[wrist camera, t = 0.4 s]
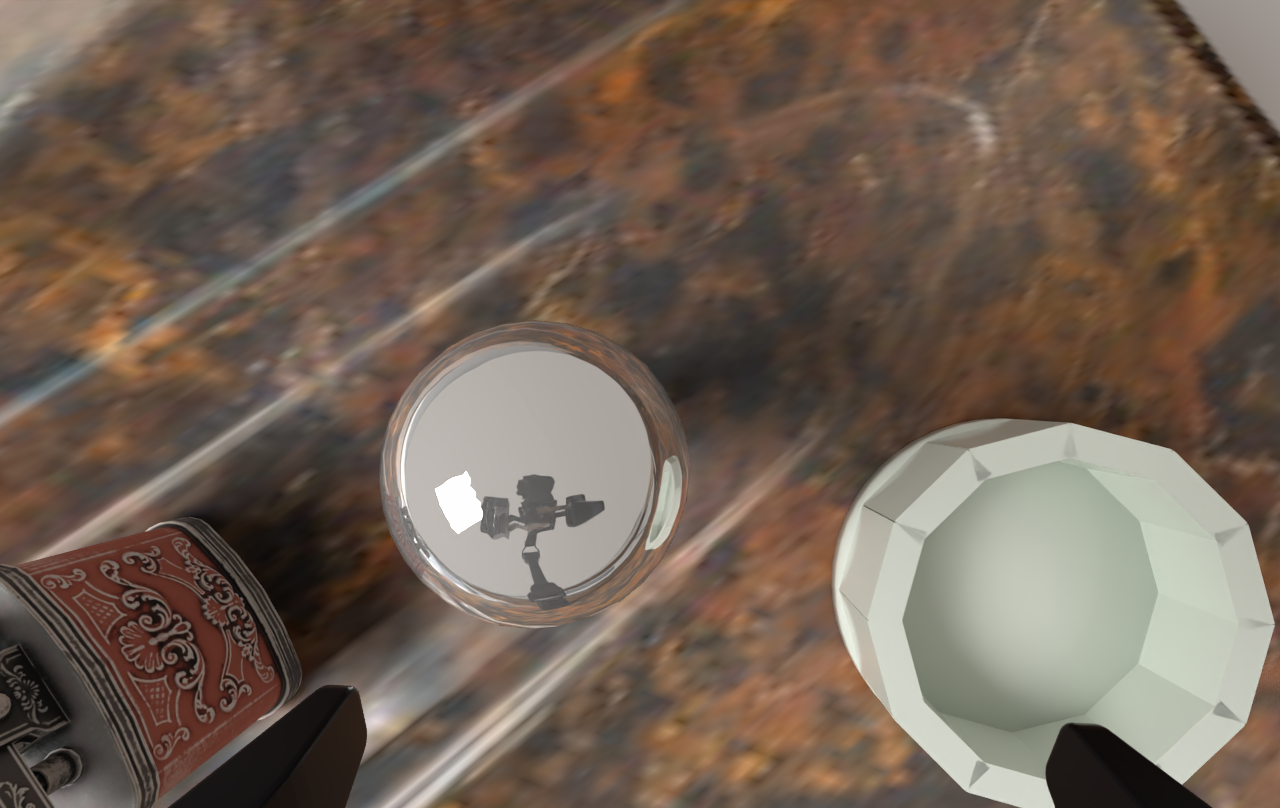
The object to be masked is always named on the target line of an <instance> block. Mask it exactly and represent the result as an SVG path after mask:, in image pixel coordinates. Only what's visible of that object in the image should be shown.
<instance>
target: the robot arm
mask: <svg viewBox="0 0 1280 808" xmlns="http://www.w3.org/2000/svg"><path fill="white" fill-rule="evenodd" d="M366 740H367V728H366V723H365V719H364V714H363V709H362V704H361V700H360V695H359V692H358V690H357V689H356V688H355V687H353V686H344V685H325V686H323V687H321V688H319V689H318V690H316V691H315V692H314V693H312V694H311V695H310V696H309V697H307V698H306V699H305V700H303V701H302V702H301V703H300V704H298V705H297V706H296V707H295V708H293V709H292V710H291V711H290V712H288V713H287V714H286V715H284V716H283V717H282V718H281V719H279V720H278V721H277V722H276V723H274V724H273V725H272V726H271V727H269V728H268V729H267V730H266V731H264V732H263V733H262V734H260V735H259V736H258V737H257V738H255V739H254V740H253V741H252V742H250V743H249V744H248V745H247V746H245V747H244V748H243V749H241V750H240V751H239V752H238V753H236V754H235V755H234V756H233V757H231V758H230V759H229V760H228V761H226V762H225V763H224V764H223V765H221V766H220V767H219V768H217V769H216V770H215V771H214V772H212V773H211V774H210V775H209V776H207V777H206V778H205V779H204V780H202V781H201V782H200V783H198V784H197V785H196V786H195V787H193V788H192V789H191V790H190V791H188V792H187V793H186V794H185V795H183V796H182V797H181V798H180V799H178V800H177V801H176V802H174V803H173V804H172V805H171V806H169V807H168V808H345V807H346V804H347V801H348V798H349V795H350V792H351V789H352V786H353V783H354V780H355V777H356V774H357V771H358V768H359V765H360V762H361V759H362V756H363V753H364V750H365V746H366ZM1045 776H1046V782H1047V786H1048V790H1049V792H1050V795H1051V798H1052V800H1053V803H1054V806H1055V808H1212V807H1211V806H1209V805H1208V804H1207V803H1205V802H1204V801H1203V800H1201V799H1200V798H1199V797H1197V796H1196V795H1195V794H1194V793H1192V792H1191V791H1190V790H1188V789H1187V788H1186V787H1184V786H1183V785H1182V784H1180V783H1179V782H1178V781H1176V780H1175V779H1174V778H1172V777H1171V776H1170V775H1168V774H1167V773H1166V772H1164V771H1163V770H1162V769H1160V768H1159V767H1158V766H1156V765H1155V764H1154V763H1152V762H1151V761H1150V760H1148V759H1147V758H1146V757H1145V756H1143V755H1142V754H1141V753H1139V752H1138V751H1137V750H1135V749H1134V748H1133V747H1131V746H1130V745H1129V744H1127V743H1126V742H1125V741H1123V740H1122V739H1121V738H1119V737H1118V736H1117V735H1115V734H1114V733H1113V732H1111V731H1110V730H1109V729H1107V728H1105V727H1104V726H1102V725H1098V724H1093V723H1074V722H1070V723H1066V724H1065V725H1063V726H1062V727H1061V729H1060V731H1059V733H1058V736H1057V738H1056V741H1055V743H1054V746H1053V748H1052V751H1051V753H1050V756H1049V758H1048V761H1047V764H1046V770H1045Z"/></svg>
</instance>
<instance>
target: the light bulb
mask: <svg viewBox="0 0 1280 808" xmlns="http://www.w3.org/2000/svg"><path fill="white" fill-rule="evenodd" d="M689 473H690V468H689V458H688V448H687V440H686V437H685V433H684V430H683V427H682V424H681V420H680V417H679V414H678V412H677V410H676V408H675V406H674V404H673V402H672V400H671V399H670V397H669V395H668V393H667V391H666V389H665V387H664V386H663V385H662V384H661V382H660V381H659V380H658V379H657V378H656V376H655V375H654V374H653V373H652V372H651V370H650V369H649V368H648V367H647V365H646V364H645V363H643V362H642V361H641V360H640V359H638V358H637V357H636V356H635V355H634V354H632V353H631V352H630V351H629V350H627V349H626V348H625V347H624V346H622V345H621V344H619V343H617V342H615V341H613V340H611V339H609V338H607V337H605V336H603V335H602V334H600V333H598V332H595V331H592V330H589V329H585V328H582V327H578V326H575V325H572V324H568V323H559V322H548V321H537V320H531V321H521V322H512V323H503V324H500V325H497V326H494V327H491V328H488V329H484V330H481V331H478V332H475V333H473V334H471V335H470V336H468V337H466V338H464V339H462V340H461V341H459V342H457V343H455V344H453V345H451V346H450V347H448V348H447V349H446V350H445V351H444V352H442V353H441V354H440V355H439V356H438V357H436V358H435V359H434V360H433V361H432V362H430V363H429V364H428V365H427V366H426V367H425V368H424V369H423V370H422V371H421V372H420V373H419V374H418V376H417V377H416V378H415V379H414V381H413V382H412V383H411V384H410V386H409V387H408V388H407V389H406V391H405V392H404V393H403V395H402V397H401V399H400V401H399V403H398V404H397V406H396V408H395V410H394V412H393V414H392V416H391V418H390V420H389V423H388V427H387V430H386V434H385V437H384V441H383V444H382V447H381V457H380V468H379V485H380V495H381V504H382V509H383V512H384V516H385V519H386V522H387V525H388V529H389V532H390V535H391V537H392V539H393V541H394V543H395V544H396V546H397V548H398V550H399V552H400V554H401V556H402V558H403V559H404V561H405V562H406V564H407V565H408V566H409V567H410V569H411V570H412V571H413V572H414V573H415V575H416V576H417V577H418V578H419V580H420V581H421V582H422V583H423V584H424V585H425V586H426V587H427V588H429V589H430V590H431V591H432V592H433V593H435V594H436V595H437V596H438V597H439V598H441V599H442V600H443V601H444V602H445V603H447V604H449V605H451V606H453V607H455V608H456V609H458V610H460V611H462V612H464V613H466V614H467V615H469V616H471V617H474V618H477V619H480V620H484V621H487V622H490V623H493V624H496V625H500V626H509V627H518V628H528V629H531V628H542V627H553V626H560V625H563V624H567V623H570V622H574V621H577V620H580V619H584V618H587V617H590V616H593V615H595V614H597V613H599V612H601V611H603V610H605V609H607V608H609V607H610V606H612V605H614V604H616V603H618V602H620V601H621V600H622V599H624V598H625V597H626V596H627V595H629V594H630V593H631V592H632V591H633V590H635V589H636V588H637V587H638V586H640V585H641V584H642V583H643V582H644V581H645V580H646V579H647V577H648V576H649V575H650V574H651V573H652V571H653V570H654V569H655V568H656V566H657V565H658V564H659V563H660V562H661V560H662V559H663V557H664V555H665V553H666V552H667V550H668V548H669V546H670V544H671V542H672V540H673V538H674V537H675V535H676V533H677V530H678V527H679V524H680V521H681V518H682V514H683V511H684V508H685V504H686V501H687V494H688V483H689Z"/></svg>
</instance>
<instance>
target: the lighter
mask: <svg viewBox="0 0 1280 808" xmlns="http://www.w3.org/2000/svg"><path fill="white" fill-rule="evenodd" d="M301 679H302V669H301V664H300V661H299V659H298V657H297V654H296V652H295V650H294V647H293V645H292V642H291V640H290V638H289V635H288V633H287V630H286V628H285V626H284V624H283V622H282V620H281V619H280V617H279V615H278V613H277V612H276V610H275V608H274V606H273V604H272V603H271V601H270V599H269V597H268V596H267V594H266V592H265V590H264V588H263V587H262V586H261V585H260V583H259V582H258V581H257V579H256V578H255V577H254V575H253V574H252V573H251V571H250V570H249V569H248V567H247V566H246V565H245V564H244V562H243V561H242V560H241V558H240V557H239V556H238V554H237V553H236V552H235V551H234V550H233V549H232V548H231V547H230V546H229V545H228V544H227V543H226V542H225V541H224V540H223V539H222V538H221V537H220V536H219V535H218V534H217V533H216V532H215V531H214V530H213V529H212V527H211V526H210V525H208V524H207V523H205V522H204V521H202V520H201V519H197V518H193V517H184V518H177V519H173V520H169V521H165V522H161V523H159V524H157V525H154V526H152V527H150V528H149V529H148V530H146V531H145V532H142V533H139V534H135V535H131V536H127V537H123V538H119V539H116V540H112V541H108V542H104V543H100V544H96V545H93V546H89V547H85V548H81V549H77V550H74V551H70V552H66V553H62V554H58V555H54V556H51V557H47V558H43V559H39V560H35V561H31V562H28V563H24V564H20V565H16V566H10V565H6V564H0V808H153V806H154V804H155V803H156V801H157V800H158V799H159V798H161V797H162V796H163V795H164V794H166V793H167V792H168V791H169V790H171V789H172V788H173V787H174V786H176V785H177V784H178V783H179V782H181V781H182V780H183V779H184V778H186V777H187V776H188V775H189V774H191V773H192V772H193V771H194V770H196V769H197V768H198V767H199V766H201V765H202V764H203V763H204V762H206V761H207V760H208V759H209V758H211V757H212V756H213V755H214V754H216V753H217V752H218V751H219V750H221V749H222V748H223V747H224V746H226V745H227V744H228V743H229V742H231V741H232V740H233V739H234V738H236V737H237V736H238V735H239V734H241V733H242V732H243V731H244V730H246V729H247V728H248V727H249V726H251V725H252V724H253V723H254V722H256V721H257V720H261V719H263V718H266V717H268V716H270V715H272V714H273V713H274V712H276V711H277V710H278V709H279V708H281V707H282V706H283V705H284V704H285V703H287V702H288V701H289V700H290V699H291V698H292V697H293V696H294V695H295V694H296V692H297V690H298V688H299V687H300V685H301Z"/></svg>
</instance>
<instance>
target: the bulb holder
mask: <svg viewBox="0 0 1280 808" xmlns="http://www.w3.org/2000/svg"><path fill="white" fill-rule="evenodd" d="M831 588H832V603H833V608H834V613H835V618H836V623H837V626H838V629H839V632H840V635H841V638H842V641H843V644H844V646H845V648H846V650H847V652H848V654H849V656H850V658H851V660H852V662H853V664H854V665H855V667H856V668H857V670H858V671H859V673H860V674H861V676H862V677H863V679H864V680H865V681H866V683H867V684H868V686H869V687H870V688H871V690H872V691H873V693H874V694H875V695H876V696H877V697H878V698H879V700H880V701H881V702H882V704H883V705H884V706H885V708H886V709H887V710H888V712H889V713H890V715H891V716H892V717H893V719H894V720H895V721H896V722H897V723H898V724H899V725H900V726H901V727H902V728H903V729H904V730H905V731H906V732H907V733H908V734H909V735H910V736H911V737H912V738H913V739H914V740H915V741H916V742H917V743H918V744H919V745H920V746H921V747H922V748H923V749H924V750H925V751H926V752H927V753H928V754H929V755H930V756H931V757H932V758H933V759H934V760H935V761H936V762H937V763H938V764H939V765H940V766H941V767H942V768H943V769H944V770H945V771H946V772H947V773H948V774H949V775H950V776H951V777H952V778H953V779H954V780H955V781H956V782H957V783H958V784H959V785H960V786H961V787H962V788H963V789H964V790H965V791H967V792H968V793H972V794H975V795H979V796H982V797H986V798H990V799H993V800H997V801H1000V802H1004V803H1007V804H1011V805H1014V806H1018V807H1021V808H1055V806H1054V803H1053V800H1052V798H1051V795H1050V792H1049V790H1048V786H1047V782H1046V776H1045V770H1046V764H1047V761H1048V758H1049V756H1050V753H1051V751H1052V748H1053V746H1054V743H1055V741H1056V738H1057V736H1058V733H1059V731H1060V729H1061V727H1062V726H1063V725H1065V724H1066V723H1070V722H1074V723H1093V724H1098V725H1102V726H1104V727H1105V728H1107V729H1109V730H1110V731H1111V732H1113V733H1114V734H1115V735H1117V736H1118V737H1119V738H1121V739H1122V740H1123V741H1125V742H1126V743H1127V744H1129V745H1130V746H1131V747H1133V748H1134V749H1135V750H1137V751H1138V752H1139V753H1141V754H1142V755H1143V756H1145V757H1146V758H1147V759H1148V760H1150V761H1151V762H1152V763H1154V764H1155V765H1156V766H1158V767H1159V768H1160V769H1162V770H1163V771H1164V772H1166V773H1167V774H1168V775H1170V776H1171V777H1172V778H1174V779H1175V780H1176V781H1178V782H1179V783H1180V784H1183V783H1184V782H1185V781H1186V780H1187V779H1189V778H1190V777H1191V776H1192V775H1193V774H1194V773H1195V772H1196V771H1197V770H1198V769H1199V768H1200V767H1201V766H1202V765H1203V764H1205V763H1206V762H1207V761H1208V760H1209V759H1210V758H1211V757H1212V756H1213V755H1214V754H1215V753H1216V752H1217V751H1218V750H1219V749H1220V748H1222V747H1223V746H1224V745H1225V744H1226V743H1227V742H1228V741H1229V740H1230V739H1231V738H1232V737H1233V736H1234V735H1235V734H1236V733H1238V732H1239V731H1240V730H1241V729H1242V728H1243V727H1244V726H1245V724H1244V723H1247V720H1248V716H1249V713H1250V709H1251V706H1252V702H1253V699H1254V696H1255V692H1256V689H1257V685H1258V682H1259V678H1260V675H1261V671H1262V668H1263V664H1264V661H1265V658H1266V654H1267V651H1268V647H1269V644H1270V640H1271V637H1272V633H1273V630H1274V626H1275V625H1272V624H1275V623H1274V619H1273V615H1272V611H1271V607H1270V604H1269V600H1268V596H1267V592H1266V589H1265V585H1264V581H1263V577H1262V574H1261V570H1260V566H1259V562H1258V559H1257V555H1256V551H1255V547H1254V544H1253V540H1252V536H1251V532H1250V529H1249V525H1248V524H1247V522H1246V521H1245V520H1244V519H1243V518H1242V517H1241V516H1240V515H1239V514H1238V513H1237V512H1236V511H1235V510H1234V509H1233V508H1232V507H1231V506H1230V505H1229V504H1228V503H1227V502H1226V501H1225V500H1224V499H1223V498H1222V497H1221V496H1220V495H1219V494H1217V493H1216V492H1215V491H1214V490H1213V489H1212V488H1211V487H1210V486H1209V485H1208V484H1207V483H1206V482H1205V481H1204V480H1203V479H1202V478H1201V477H1200V476H1199V475H1198V474H1197V473H1196V472H1195V471H1194V470H1193V469H1192V468H1191V467H1190V466H1189V465H1188V464H1187V463H1186V462H1185V461H1184V460H1183V459H1182V458H1181V457H1180V456H1179V455H1178V454H1177V453H1176V452H1175V451H1174V450H1172V449H1168V448H1165V447H1161V446H1157V445H1153V444H1149V443H1146V442H1142V441H1138V440H1134V439H1130V438H1127V437H1123V436H1119V435H1115V434H1111V433H1108V432H1104V431H1100V430H1096V429H1092V428H1089V427H1085V426H1081V425H1077V424H1074V423H1065V422H1049V421H1035V420H1020V419H1004V418H992V419H977V420H971V421H966V422H961V423H956V424H952V425H949V426H946V427H943V428H940V429H937V430H934V431H932V432H930V433H928V434H926V435H924V436H922V437H920V438H918V439H916V440H914V441H912V442H911V443H909V444H908V445H906V446H905V447H903V448H902V449H900V450H898V451H897V452H896V453H894V454H893V455H892V456H891V457H890V458H889V459H887V460H886V461H885V462H884V463H883V464H882V465H881V466H879V468H878V469H877V470H876V471H875V472H874V473H873V474H872V475H871V477H870V478H869V479H868V480H867V481H866V482H865V484H864V485H863V487H862V488H861V489H860V491H859V492H858V494H857V495H856V497H855V498H854V500H853V502H852V504H851V506H850V508H849V510H848V512H847V514H846V516H845V518H844V520H843V523H842V526H841V528H840V531H839V534H838V537H837V541H836V545H835V550H834V555H833V560H832V575H831Z"/></svg>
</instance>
